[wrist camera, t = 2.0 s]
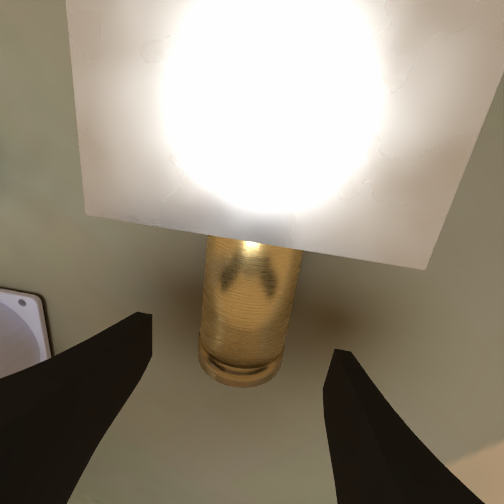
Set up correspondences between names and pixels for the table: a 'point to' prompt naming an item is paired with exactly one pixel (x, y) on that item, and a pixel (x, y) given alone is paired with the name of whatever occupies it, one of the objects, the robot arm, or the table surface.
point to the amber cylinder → (246, 309)
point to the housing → (284, 117)
